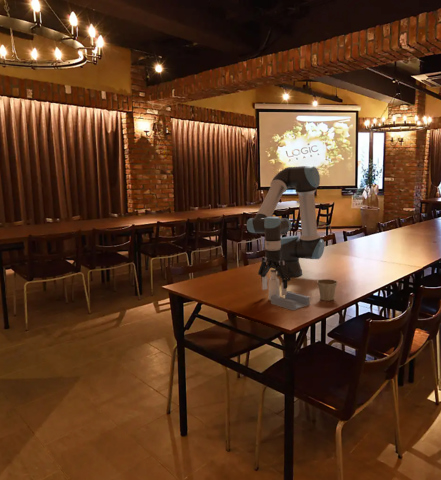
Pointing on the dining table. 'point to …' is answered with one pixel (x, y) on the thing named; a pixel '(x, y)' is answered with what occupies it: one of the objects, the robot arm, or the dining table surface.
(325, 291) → the flower pot
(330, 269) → the dining table surface
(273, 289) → the bottle
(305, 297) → the cradle
